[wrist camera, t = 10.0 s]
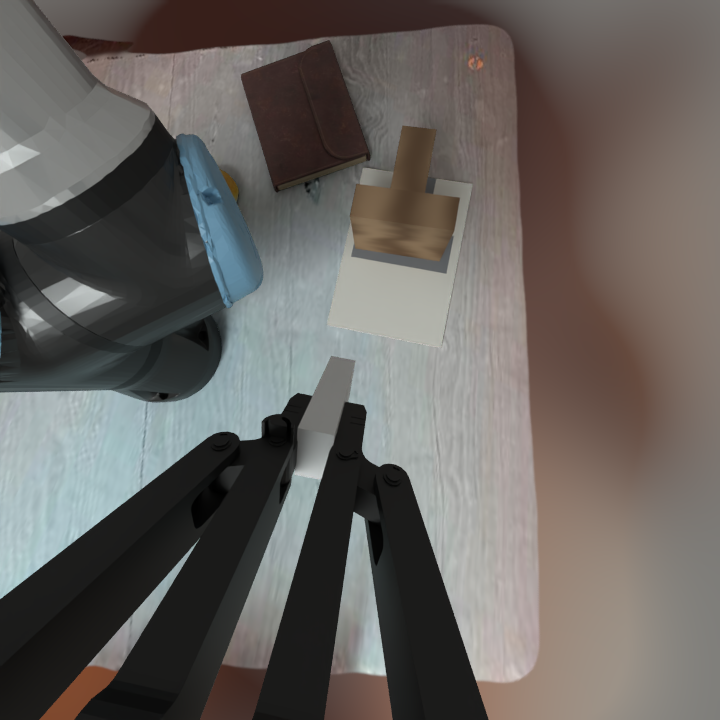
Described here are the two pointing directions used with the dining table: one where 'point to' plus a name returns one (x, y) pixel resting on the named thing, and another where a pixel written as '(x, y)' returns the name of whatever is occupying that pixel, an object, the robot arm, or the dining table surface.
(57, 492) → the dining table surface
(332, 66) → the notebook
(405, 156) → the t block
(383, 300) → the mat
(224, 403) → the dining table surface
